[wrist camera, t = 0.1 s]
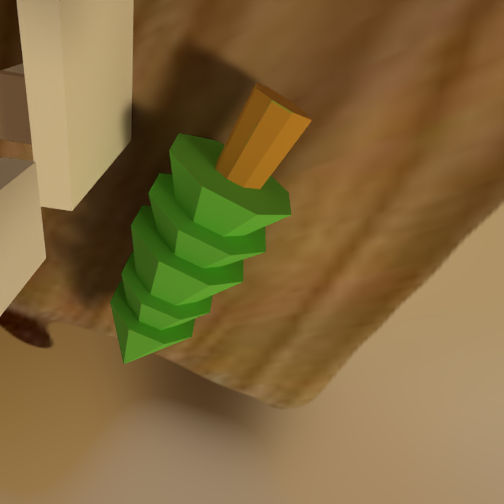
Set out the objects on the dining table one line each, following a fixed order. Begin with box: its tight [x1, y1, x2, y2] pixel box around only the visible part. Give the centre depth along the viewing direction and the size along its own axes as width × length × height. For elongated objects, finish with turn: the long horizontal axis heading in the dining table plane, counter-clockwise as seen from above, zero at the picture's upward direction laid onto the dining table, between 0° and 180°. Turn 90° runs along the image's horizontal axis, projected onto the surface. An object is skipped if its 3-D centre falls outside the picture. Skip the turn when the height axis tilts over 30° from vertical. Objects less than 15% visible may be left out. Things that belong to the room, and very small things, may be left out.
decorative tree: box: [110, 83, 312, 364], centre depth 38 cm, size 11×12×30 cm
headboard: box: [0, 0, 133, 211], centre depth 27 cm, size 20×6×14 cm, turn 171°
